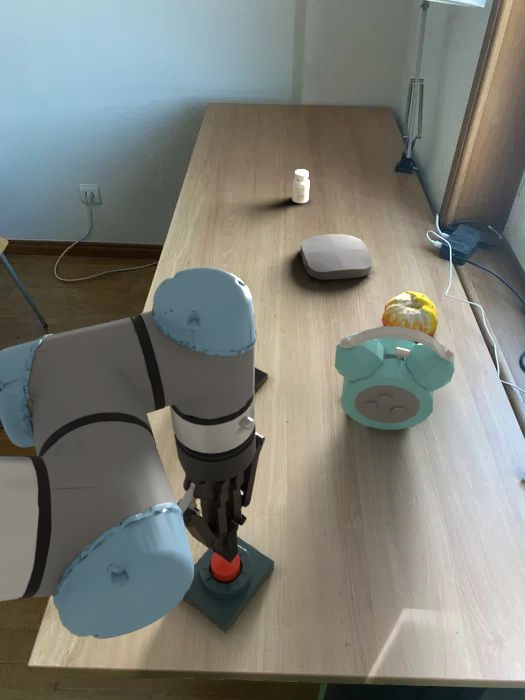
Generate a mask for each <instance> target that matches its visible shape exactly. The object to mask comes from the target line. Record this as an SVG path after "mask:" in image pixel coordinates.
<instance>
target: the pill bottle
mask: <svg viewBox="0 0 525 700" xmlns="http://www.w3.org/2000/svg"><path fill="white" fill-rule="evenodd" d="M308 178H309V171H308V170H306V169H304V168H303V169H302V168H301V169H296V170H295V171H294V178H293V179H292V185H291V200H292V202H294V203H297V204H305V203H307V202H308V201H309V195H310V179H308Z"/></svg>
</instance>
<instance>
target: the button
mask: <svg viewBox="0 0 525 700" xmlns="http://www.w3.org/2000/svg"><path fill="white" fill-rule="evenodd" d="M211 572H212V574H213V576H214V577H215V579H217V580H218V581H221V582H229V581H232V580H234V579H235V578H236V577H237V576H238V574H239V572H240V558H239V556H238V554H237V556H236V557H235V558H234V559H233V561H232V562H231V563H229V562H228V561H227V560H225V559H224V558H222V557H221V556H220V555H218V554H217V553H214V554H213V556H212V558H211Z"/></svg>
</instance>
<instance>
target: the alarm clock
mask: <svg viewBox="0 0 525 700" xmlns="http://www.w3.org/2000/svg"><path fill="white" fill-rule="evenodd" d="M408 340H409V341H408ZM412 341H415V342H419V343H414V342H412ZM335 348H336V349H335V357H334V368H335V369H336V371H337V372H338V374H339V375H341V376H342V377H343V380H342V381H343V382H342V391H341V404H342V409H343V410H344V412H345V413H346V415H347V416H349V418H350V419H352V420H354V421H356V422H357V423H359V424H361V425H362V426H366V427H370V428H373V429H378V430H387V431H399V430H403V429H404V430H405V429H409V428H413V427H415V426H417V425H419V424H421V423H423V422H425V421H426V420H427V419H428V418H429V417H430V416H431V414H432V413H433V411H434V392H435V391H437V390H439V389H441V388H444V387H445V386H446V385H447V384H449V383H450V382H451V381H452V380H453V379H452V378H453V376H454V374H455V353H454V351H453V349H450V348H448V347H446V346H445V345H443V344H441V343H440V342H439V341H438V340H436V339H435V338H434V337H433V336H429V335H427V334H425V333H423V332H421V331H419V330H414V329H409V328H404V327H388V326H384V325H382V326H378V327H373V328H369V329H365V330H363V331H360V332H355V333H352V334H349V335H345V336H344V337H343V338H341V340H340V342H339V343H338V344H337V345H336V347H335Z"/></svg>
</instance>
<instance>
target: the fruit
mask: <svg viewBox="0 0 525 700" xmlns="http://www.w3.org/2000/svg"><path fill="white" fill-rule="evenodd" d="M381 322H382V324H383V325H382V326H388V327H404V328H409V329H414V330H419V331H421V332H423V333H425V334H427V335H429V336H431V337H433V336H434V335H435V333H436V331H437V328H438V324H439V316H438V311H437V308H436V306H435V304H434V302H433V301H432V300H431V299H430V298H429V297H427V295H425V294H424V293H419V292H415V291H405V292H402V293H399V295H397V296H394V297H392V298H391V299H389V301H388V302H386V304H385V305H384V312H383V314H382V317H381ZM408 341H409V340H408ZM412 342H414V343H415V344H419V342H415V341H412Z"/></svg>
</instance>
